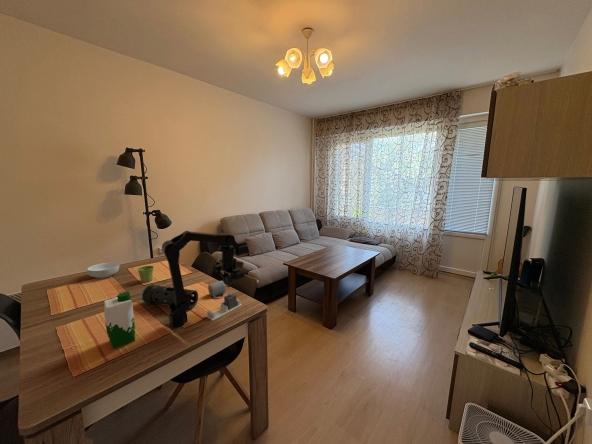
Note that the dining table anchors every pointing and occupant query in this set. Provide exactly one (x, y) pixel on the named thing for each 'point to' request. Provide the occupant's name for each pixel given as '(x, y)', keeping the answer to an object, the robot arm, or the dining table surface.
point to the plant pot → (145, 273)
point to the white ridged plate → (221, 310)
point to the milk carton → (119, 320)
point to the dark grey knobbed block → (230, 301)
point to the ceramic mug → (217, 289)
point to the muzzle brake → (164, 295)
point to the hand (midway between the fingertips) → (229, 286)
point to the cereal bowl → (103, 269)
